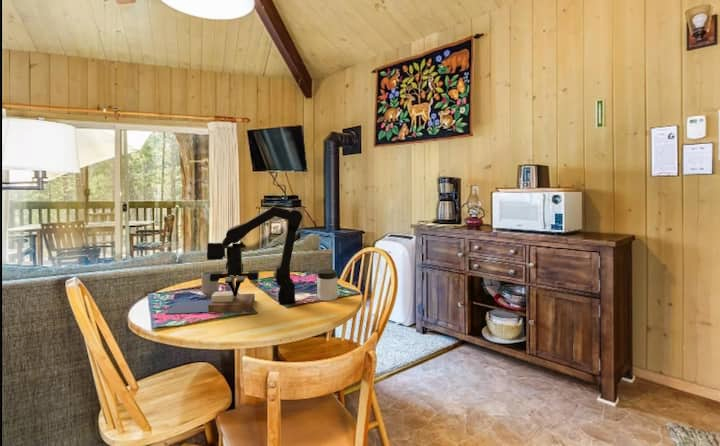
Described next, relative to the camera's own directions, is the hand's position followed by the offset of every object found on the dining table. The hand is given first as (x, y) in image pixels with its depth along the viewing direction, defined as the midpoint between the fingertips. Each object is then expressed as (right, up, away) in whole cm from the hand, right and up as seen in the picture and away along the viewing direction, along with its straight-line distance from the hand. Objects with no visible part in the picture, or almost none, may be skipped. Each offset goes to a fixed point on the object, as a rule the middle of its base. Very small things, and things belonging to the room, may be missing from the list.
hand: (235, 296), depth 173 cm
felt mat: (-17, -4, -2) cm, 18 cm away
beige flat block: (-5, -1, 0) cm, 5 cm away
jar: (+36, -3, +12) cm, 39 cm away
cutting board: (-1, -4, 0) cm, 4 cm away
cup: (-18, -2, +21) cm, 28 cm away
